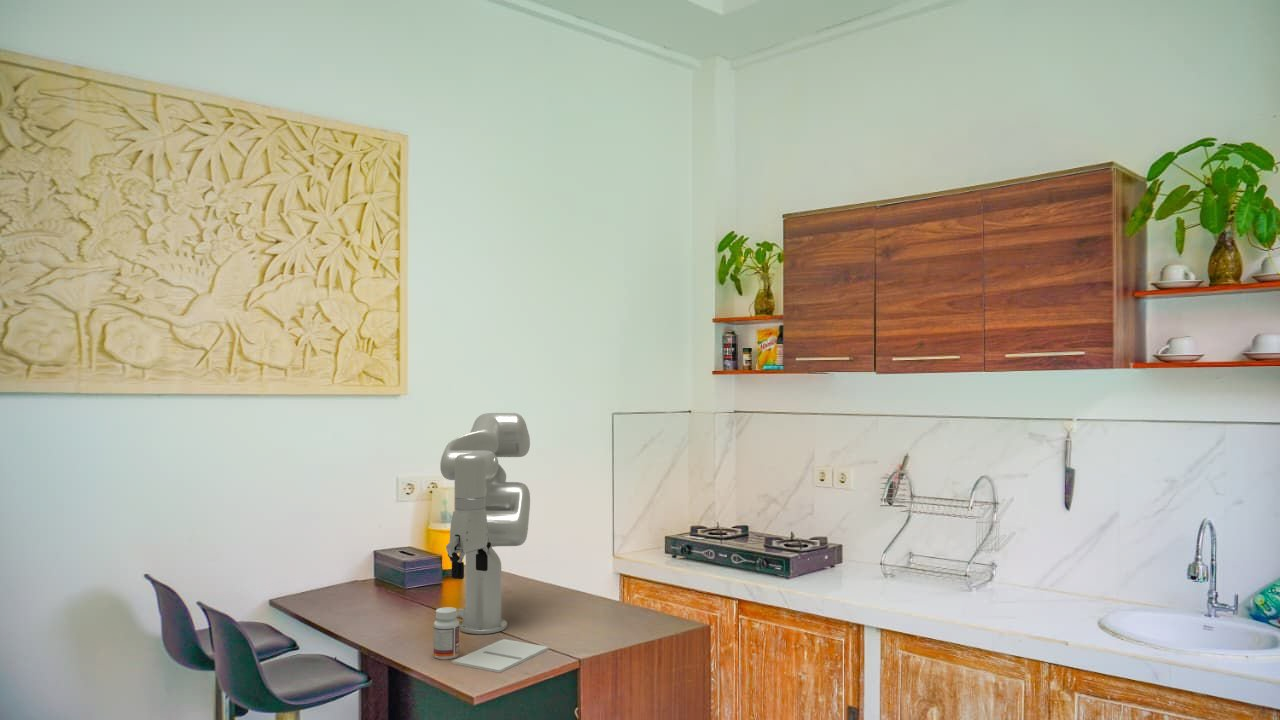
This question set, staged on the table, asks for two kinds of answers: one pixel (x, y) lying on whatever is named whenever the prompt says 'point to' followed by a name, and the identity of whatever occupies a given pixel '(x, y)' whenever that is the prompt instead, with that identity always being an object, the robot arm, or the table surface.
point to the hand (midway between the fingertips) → (469, 574)
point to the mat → (500, 655)
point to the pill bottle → (446, 633)
